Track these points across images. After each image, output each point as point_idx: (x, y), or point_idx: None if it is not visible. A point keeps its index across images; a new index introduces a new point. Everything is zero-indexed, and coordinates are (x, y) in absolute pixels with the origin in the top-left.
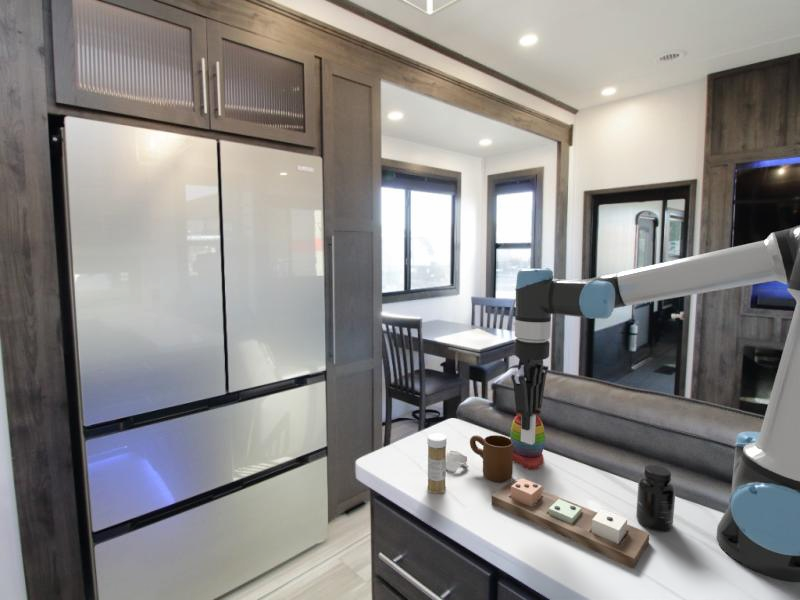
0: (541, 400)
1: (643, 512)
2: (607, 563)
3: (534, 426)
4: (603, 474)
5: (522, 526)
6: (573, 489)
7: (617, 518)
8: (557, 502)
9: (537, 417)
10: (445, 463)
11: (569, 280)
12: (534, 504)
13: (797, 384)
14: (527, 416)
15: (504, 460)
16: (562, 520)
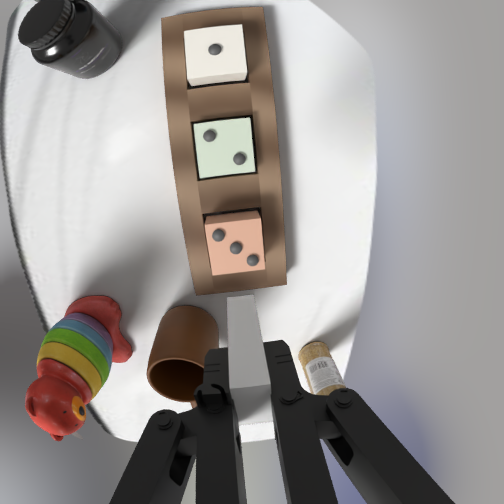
0: (148, 450)
1: (111, 46)
2: (282, 43)
3: (240, 343)
4: (21, 203)
5: (303, 195)
6: (101, 205)
7: (198, 41)
8: (216, 171)
9: (43, 375)
10: (322, 379)
11: None
12: (241, 212)
13: None
14: (306, 392)
15: (197, 337)
16: (255, 136)
